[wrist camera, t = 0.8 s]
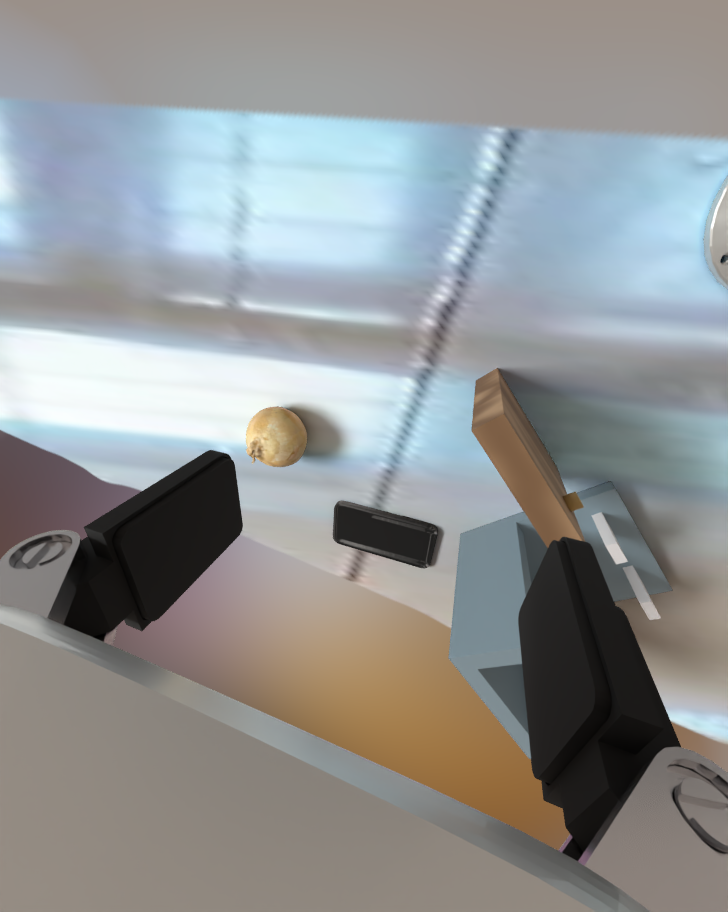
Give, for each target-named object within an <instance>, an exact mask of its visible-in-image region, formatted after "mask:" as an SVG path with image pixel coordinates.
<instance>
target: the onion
mask: <svg viewBox="0 0 728 912" xmlns="http://www.w3.org/2000/svg"><path fill="white" fill-rule="evenodd" d="M246 444H247V447H248V448H247V449H246V451H247V453H248V455H249V456H251V457H252V458H253V461H252V464H253V462H255V457H256V458H257V459H258V460H260V461H261V462H263V463H265V464H267V465H269V466H273V467H286V466H289V465H292V464H294V463H296V462H297V461H298V460H299V459H300V458H301V457H302V455H303V453H304V451H305V448H306V445H307V432H306V429H305V427H304V425H303V423H302V421H301V420H300V418H299V417H298V416H297V415H296V414H294V413H293V412H291V411H290V410H287V409H285V408H282V407H278V406H277V407H270V408H266V409H263V410H261V411H259V412H258V413H257V414H256V415H255V416H254V417H253V418H252V419H251V421H250V422H249V424H248V427H247V431H246Z"/></svg>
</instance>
